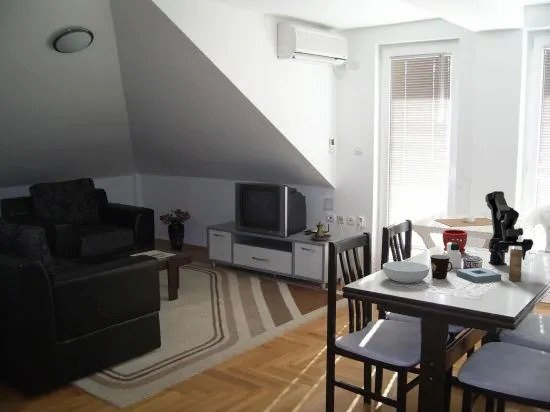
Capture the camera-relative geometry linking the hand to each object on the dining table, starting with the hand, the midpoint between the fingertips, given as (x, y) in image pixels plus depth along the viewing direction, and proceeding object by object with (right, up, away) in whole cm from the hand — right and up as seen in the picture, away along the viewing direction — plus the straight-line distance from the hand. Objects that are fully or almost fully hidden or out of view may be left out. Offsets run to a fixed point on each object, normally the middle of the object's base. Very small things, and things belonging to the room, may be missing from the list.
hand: (513, 259), depth 263 cm
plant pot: (-9, -2, +58) cm, 58 cm away
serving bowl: (-50, -10, -3) cm, 51 cm away
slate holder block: (-15, -9, +2) cm, 18 cm away
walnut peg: (-1, -9, -3) cm, 10 cm away
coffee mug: (-33, -9, +1) cm, 35 cm away
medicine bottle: (-20, -6, +25) cm, 33 cm away
